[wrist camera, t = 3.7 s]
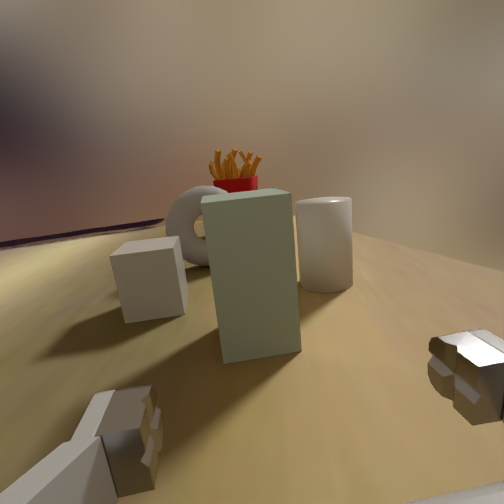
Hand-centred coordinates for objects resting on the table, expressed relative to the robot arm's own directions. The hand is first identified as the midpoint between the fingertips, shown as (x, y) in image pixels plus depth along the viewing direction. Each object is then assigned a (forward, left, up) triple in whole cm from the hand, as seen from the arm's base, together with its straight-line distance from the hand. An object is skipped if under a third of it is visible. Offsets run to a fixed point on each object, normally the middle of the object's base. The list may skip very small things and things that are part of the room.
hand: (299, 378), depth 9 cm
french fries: (+3, +49, -6) cm, 49 cm away
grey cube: (-8, +20, -6) cm, 22 cm away
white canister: (+8, +20, -6) cm, 22 cm away
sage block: (0, +12, -6) cm, 13 cm away
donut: (-3, +31, -6) cm, 32 cm away
